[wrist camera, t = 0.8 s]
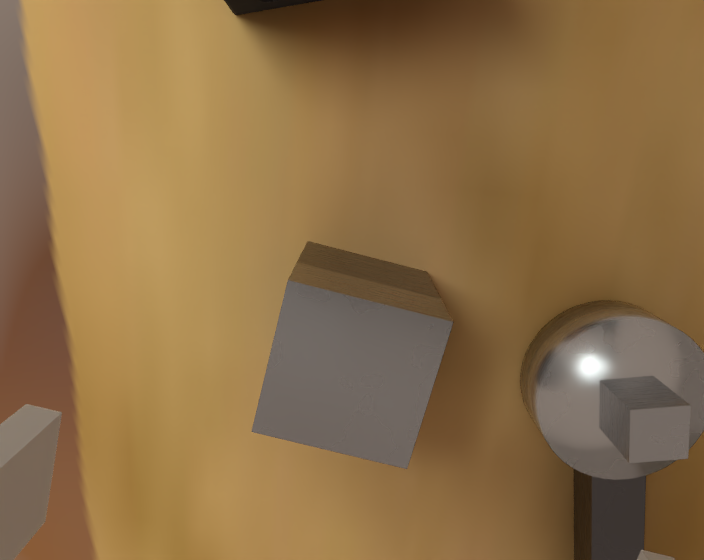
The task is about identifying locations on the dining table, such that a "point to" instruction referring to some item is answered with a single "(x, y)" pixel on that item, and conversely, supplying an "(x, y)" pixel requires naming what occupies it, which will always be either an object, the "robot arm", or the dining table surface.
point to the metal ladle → (613, 413)
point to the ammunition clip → (260, 5)
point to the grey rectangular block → (353, 356)
